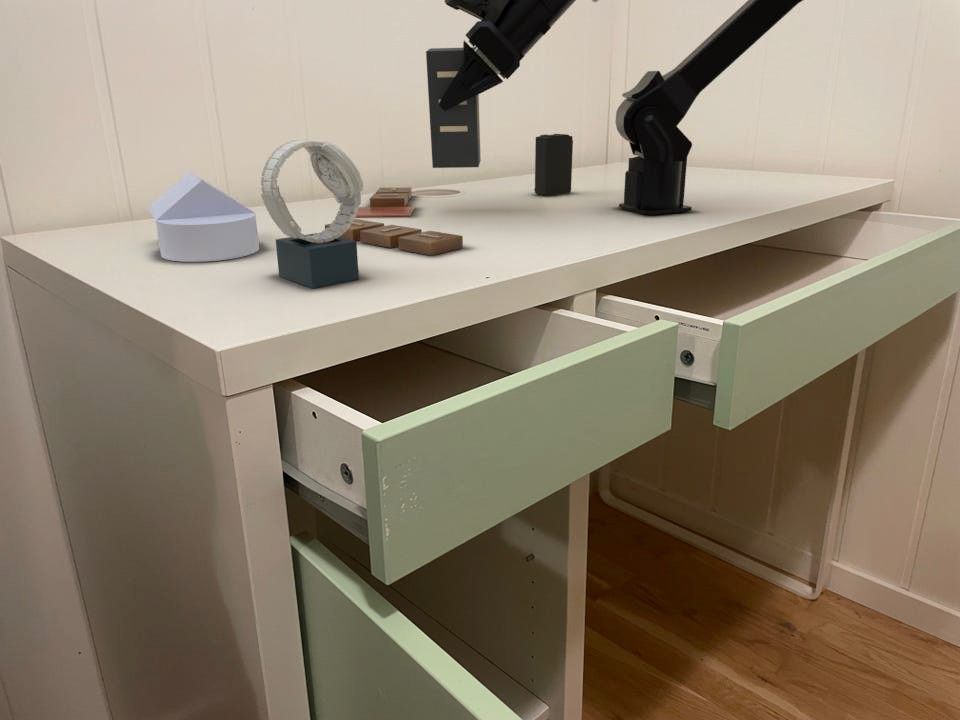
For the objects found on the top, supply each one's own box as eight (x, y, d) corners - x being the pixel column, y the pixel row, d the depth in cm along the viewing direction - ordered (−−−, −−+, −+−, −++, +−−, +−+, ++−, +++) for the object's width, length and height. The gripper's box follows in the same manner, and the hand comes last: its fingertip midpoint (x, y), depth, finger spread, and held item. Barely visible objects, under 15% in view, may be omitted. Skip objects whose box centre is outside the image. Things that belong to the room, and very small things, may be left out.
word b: (410, 216, 93) (409, 205, 92) (351, 216, 93) (350, 205, 92) (421, 196, 108) (420, 186, 108) (370, 196, 108) (370, 187, 108)
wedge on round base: (152, 240, 80) (166, 265, 69) (142, 174, 78) (154, 189, 67) (241, 232, 84) (268, 255, 73) (234, 168, 82) (260, 182, 71)
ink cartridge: (560, 191, 111) (561, 133, 109) (571, 193, 110) (573, 134, 107) (534, 194, 109) (534, 135, 106) (545, 196, 107) (546, 135, 104)
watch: (378, 275, 65) (371, 139, 62) (292, 292, 60) (278, 145, 57) (342, 264, 69) (333, 136, 66) (259, 279, 64) (244, 141, 61)
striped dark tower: (436, 161, 96) (429, 48, 90) (480, 161, 96) (477, 47, 90) (432, 168, 93) (425, 51, 87) (478, 167, 92) (474, 49, 87)
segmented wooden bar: (463, 248, 75) (462, 234, 75) (431, 255, 72) (431, 241, 72) (357, 229, 85) (356, 217, 84) (325, 236, 82) (324, 223, 81)
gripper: (486, -42, 94) (399, 57, 98) (487, -69, 77) (381, 53, 81) (550, 28, 97) (463, 122, 101) (565, 17, 79) (458, 131, 83)
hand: (442, 107), depth 91 cm, fingers closed on striped dark tower, 4 cm apart
